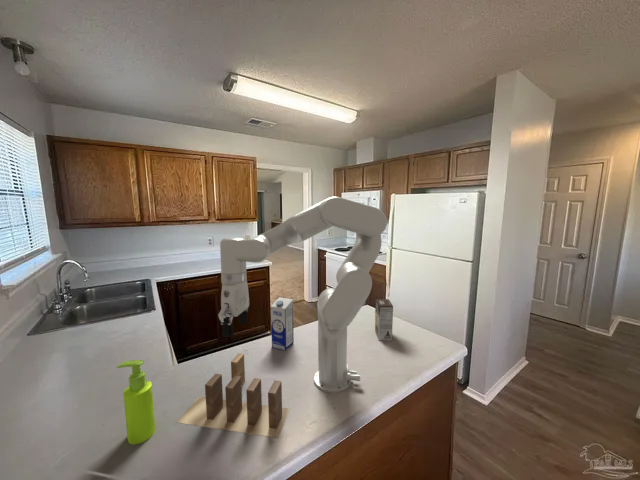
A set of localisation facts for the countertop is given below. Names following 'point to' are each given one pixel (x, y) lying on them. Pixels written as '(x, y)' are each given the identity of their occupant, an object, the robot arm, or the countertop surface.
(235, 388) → the domino
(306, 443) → the countertop surface
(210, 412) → the domino
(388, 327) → the coffee box
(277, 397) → the domino
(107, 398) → the countertop surface
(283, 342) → the milk carton
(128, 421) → the soap dispenser
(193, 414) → the runner
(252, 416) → the domino
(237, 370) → the domino
